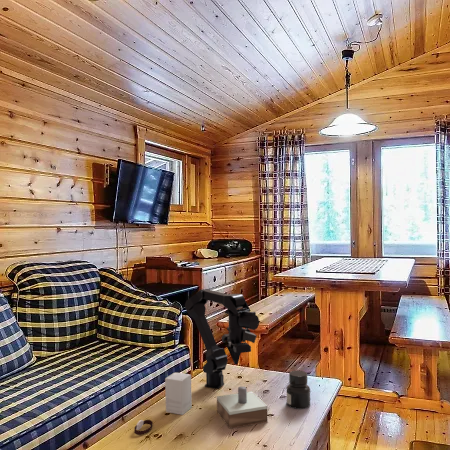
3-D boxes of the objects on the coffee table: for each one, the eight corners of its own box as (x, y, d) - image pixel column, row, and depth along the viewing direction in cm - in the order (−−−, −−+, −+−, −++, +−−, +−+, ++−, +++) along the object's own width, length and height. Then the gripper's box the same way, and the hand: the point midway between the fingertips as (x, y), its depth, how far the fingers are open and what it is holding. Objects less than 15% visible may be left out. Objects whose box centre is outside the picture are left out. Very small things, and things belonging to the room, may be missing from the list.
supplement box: (192, 407, 171) (191, 374, 170) (182, 415, 164) (182, 380, 164) (175, 404, 174) (175, 371, 173) (165, 412, 167) (164, 378, 167)
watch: (145, 425, 157) (145, 414, 157) (156, 428, 155) (156, 417, 155) (130, 434, 150) (130, 423, 150) (141, 437, 148) (141, 426, 148)
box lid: (216, 399, 167) (216, 382, 166) (252, 393, 171) (251, 378, 171) (229, 414, 153) (229, 397, 153) (267, 408, 158) (267, 391, 158)
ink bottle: (291, 398, 179) (291, 367, 178) (313, 401, 175) (313, 371, 175) (283, 407, 170) (282, 375, 170) (306, 411, 166) (306, 379, 166)
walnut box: (216, 411, 167) (216, 399, 167) (252, 406, 171) (252, 394, 171) (229, 428, 154) (229, 415, 153) (267, 422, 158) (267, 409, 158)
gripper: (263, 329, 177) (263, 369, 177) (245, 319, 195) (246, 355, 195) (236, 331, 173) (236, 372, 174) (221, 321, 191) (221, 358, 191)
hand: (236, 364), depth 183 cm, fingers closed
